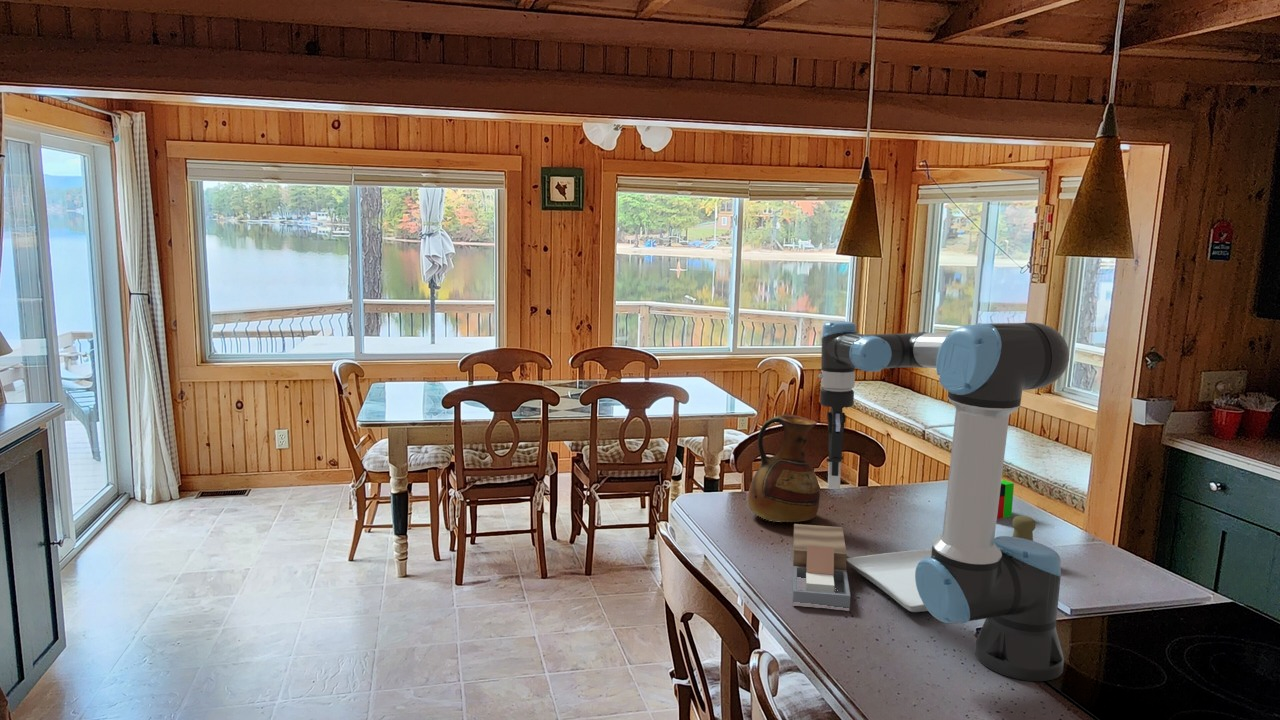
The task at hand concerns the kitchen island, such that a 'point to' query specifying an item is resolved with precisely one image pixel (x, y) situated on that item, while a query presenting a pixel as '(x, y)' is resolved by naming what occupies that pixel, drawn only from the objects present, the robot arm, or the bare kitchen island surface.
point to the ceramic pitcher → (785, 476)
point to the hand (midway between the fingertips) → (833, 487)
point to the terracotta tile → (820, 560)
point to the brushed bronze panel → (819, 543)
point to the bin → (823, 598)
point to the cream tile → (819, 582)
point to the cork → (1023, 527)
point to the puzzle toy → (1005, 499)
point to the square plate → (894, 575)
